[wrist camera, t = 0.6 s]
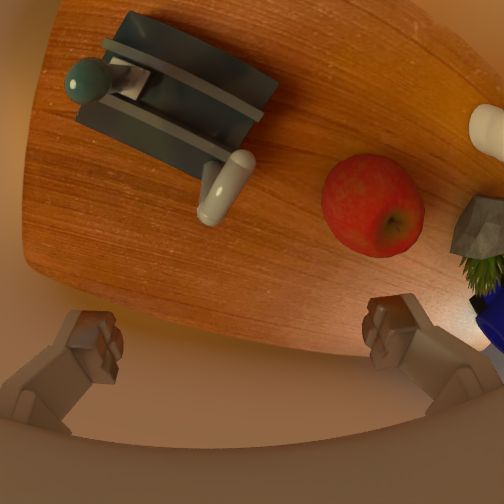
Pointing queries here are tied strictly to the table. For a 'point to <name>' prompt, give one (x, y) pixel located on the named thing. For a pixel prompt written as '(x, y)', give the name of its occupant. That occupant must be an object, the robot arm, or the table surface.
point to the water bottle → (488, 130)
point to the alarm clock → (491, 314)
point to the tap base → (185, 109)
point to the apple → (373, 206)
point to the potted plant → (481, 242)
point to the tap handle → (105, 79)
